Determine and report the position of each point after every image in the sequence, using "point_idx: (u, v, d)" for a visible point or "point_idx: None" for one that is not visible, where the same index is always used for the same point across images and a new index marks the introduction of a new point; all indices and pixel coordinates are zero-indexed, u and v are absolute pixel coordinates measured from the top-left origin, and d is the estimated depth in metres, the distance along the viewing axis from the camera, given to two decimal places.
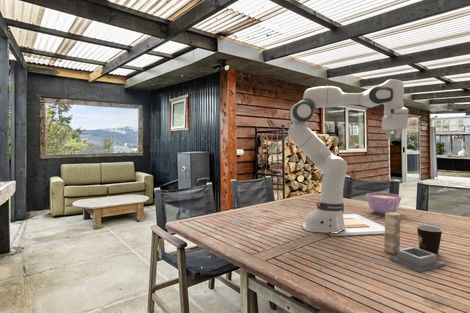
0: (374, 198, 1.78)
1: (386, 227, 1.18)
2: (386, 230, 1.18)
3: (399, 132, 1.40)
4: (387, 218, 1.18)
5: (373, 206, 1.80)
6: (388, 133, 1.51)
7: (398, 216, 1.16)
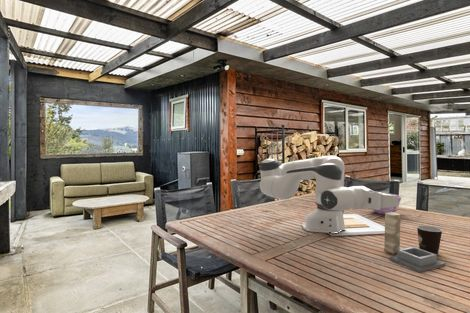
0: None
1: (386, 227, 1.18)
2: (386, 230, 1.18)
3: None
4: (387, 218, 1.18)
5: None
6: None
7: (398, 216, 1.16)
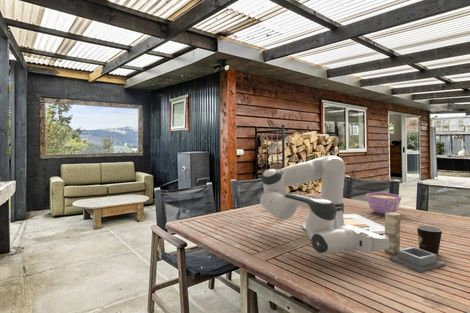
0: (374, 198, 1.78)
1: (386, 227, 1.18)
2: (386, 230, 1.18)
3: None
4: (387, 218, 1.18)
5: (373, 206, 1.80)
6: None
7: (398, 216, 1.16)
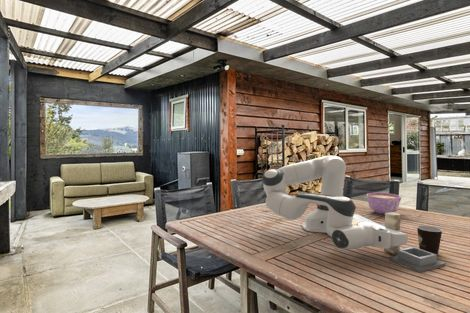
0: (374, 198, 1.78)
1: (386, 227, 1.18)
2: None
3: None
4: (387, 218, 1.18)
5: (373, 206, 1.80)
6: None
7: (398, 216, 1.16)
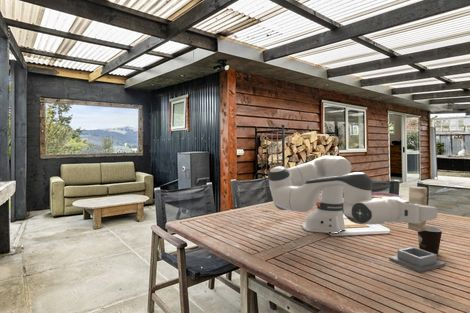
0: None
1: None
2: None
3: None
4: (412, 192, 1.06)
5: None
6: None
7: (424, 190, 1.04)
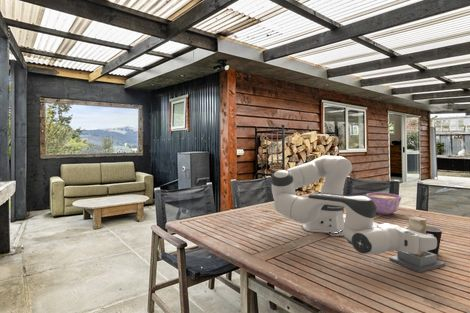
0: (374, 198, 1.78)
1: None
2: None
3: None
4: (411, 223, 1.06)
5: None
6: None
7: (424, 221, 1.05)
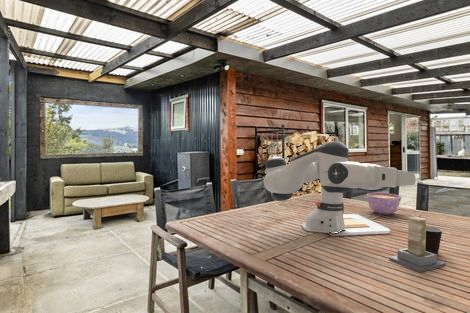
0: (374, 198, 1.78)
1: (410, 233, 1.07)
2: (410, 236, 1.07)
3: None
4: (411, 223, 1.06)
5: (373, 206, 1.80)
6: None
7: (424, 221, 1.05)
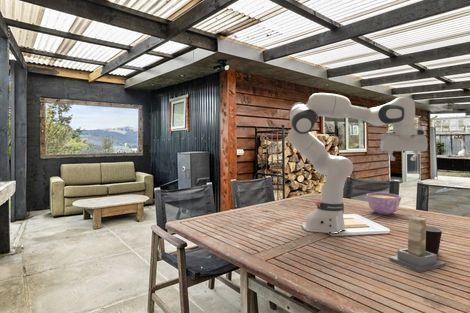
0: (374, 198, 1.78)
1: (410, 233, 1.07)
2: (410, 236, 1.07)
3: None
4: (411, 223, 1.06)
5: (373, 206, 1.80)
6: None
7: (424, 221, 1.05)
